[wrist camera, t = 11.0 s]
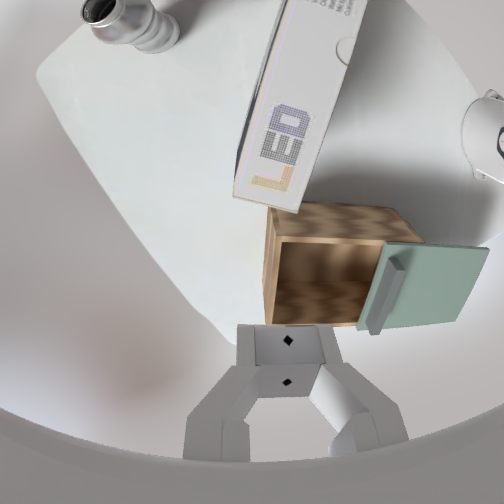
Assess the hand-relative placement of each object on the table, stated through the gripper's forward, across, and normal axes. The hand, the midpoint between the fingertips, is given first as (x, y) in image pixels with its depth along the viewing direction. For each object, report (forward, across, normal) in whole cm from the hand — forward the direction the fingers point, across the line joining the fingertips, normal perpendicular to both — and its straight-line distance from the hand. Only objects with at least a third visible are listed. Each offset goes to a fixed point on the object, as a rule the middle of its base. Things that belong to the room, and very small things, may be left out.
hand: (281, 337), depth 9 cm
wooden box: (+37, -14, +18) cm, 44 cm away
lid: (+25, -29, +18) cm, 42 cm away
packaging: (+37, -4, -12) cm, 40 cm away
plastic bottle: (+37, +14, -16) cm, 43 cm away
